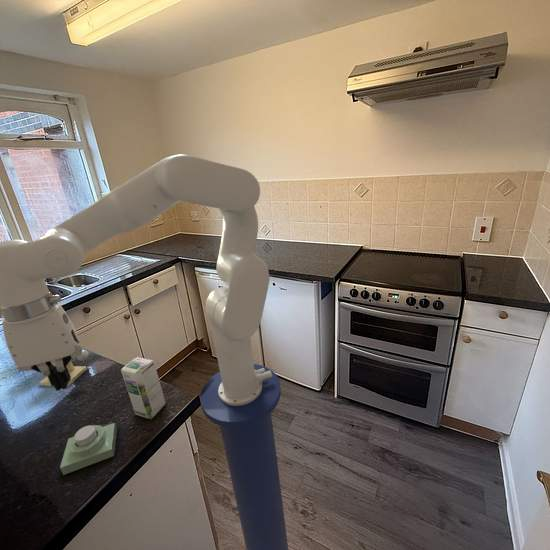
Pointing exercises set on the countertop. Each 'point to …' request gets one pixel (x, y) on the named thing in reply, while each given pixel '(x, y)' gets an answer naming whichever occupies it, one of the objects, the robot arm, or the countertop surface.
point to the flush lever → (83, 356)
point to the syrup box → (143, 387)
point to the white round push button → (85, 436)
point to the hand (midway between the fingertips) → (63, 385)
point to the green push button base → (89, 449)
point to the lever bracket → (73, 371)
